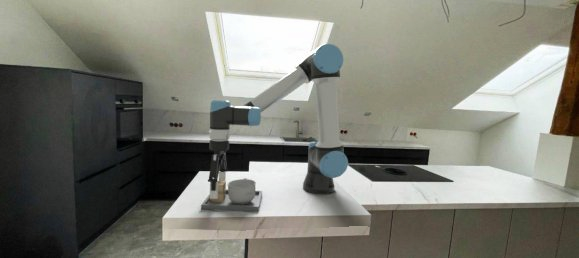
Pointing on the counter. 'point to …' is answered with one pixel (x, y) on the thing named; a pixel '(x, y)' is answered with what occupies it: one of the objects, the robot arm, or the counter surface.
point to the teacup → (241, 191)
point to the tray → (232, 204)
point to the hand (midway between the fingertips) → (218, 192)
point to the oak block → (220, 192)
